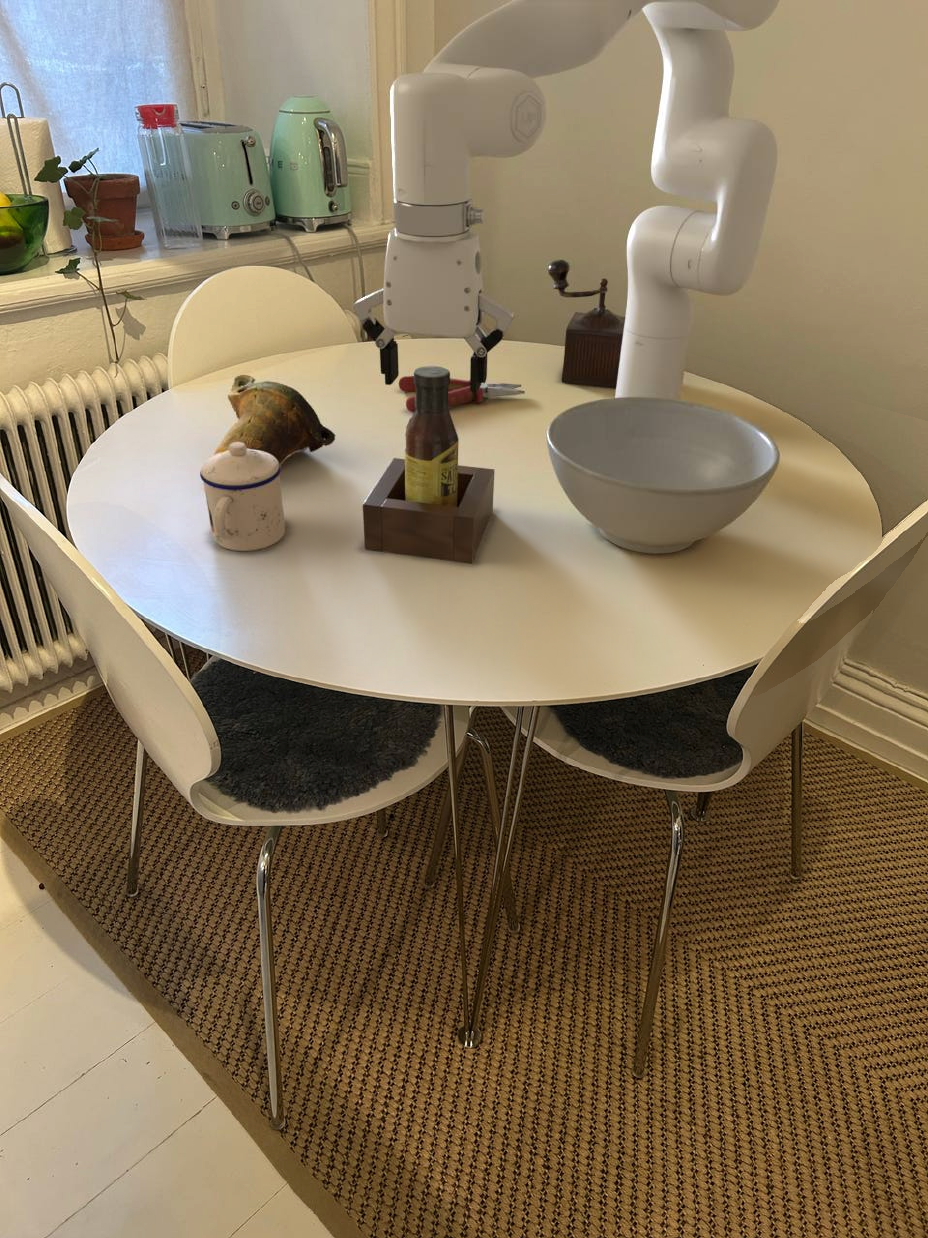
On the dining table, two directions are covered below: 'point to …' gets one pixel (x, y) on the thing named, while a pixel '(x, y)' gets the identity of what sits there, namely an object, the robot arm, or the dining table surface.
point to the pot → (273, 420)
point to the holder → (428, 516)
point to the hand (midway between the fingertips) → (433, 384)
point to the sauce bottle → (431, 442)
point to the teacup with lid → (244, 498)
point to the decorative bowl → (659, 468)
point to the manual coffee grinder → (589, 337)
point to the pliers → (462, 391)
